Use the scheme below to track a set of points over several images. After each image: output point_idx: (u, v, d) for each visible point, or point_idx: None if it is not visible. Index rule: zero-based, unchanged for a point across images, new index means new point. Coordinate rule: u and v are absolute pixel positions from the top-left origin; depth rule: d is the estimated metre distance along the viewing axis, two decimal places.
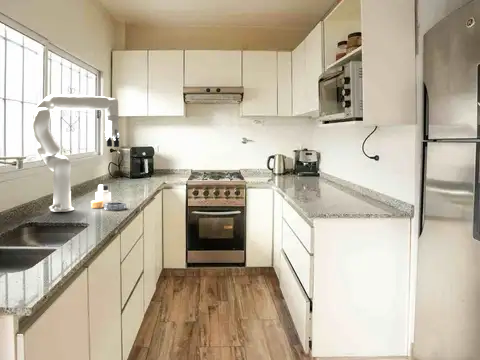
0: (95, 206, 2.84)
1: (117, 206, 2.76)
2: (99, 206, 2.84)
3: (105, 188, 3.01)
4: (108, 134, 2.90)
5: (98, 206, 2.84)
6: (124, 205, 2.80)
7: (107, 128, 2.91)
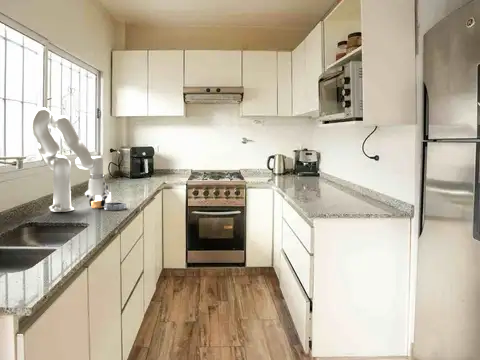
0: (95, 206, 2.84)
1: (117, 206, 2.76)
2: (99, 206, 2.84)
3: None
4: None
5: (98, 206, 2.84)
6: (124, 205, 2.80)
7: None
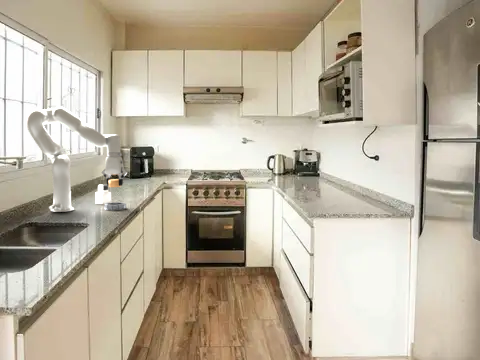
0: (113, 185, 2.78)
1: (117, 206, 2.76)
2: (117, 185, 2.78)
3: (105, 188, 3.01)
4: None
5: (116, 185, 2.78)
6: (124, 205, 2.80)
7: None
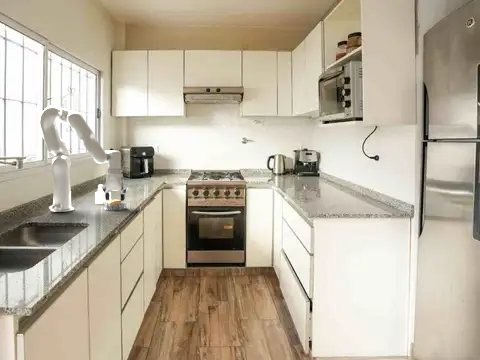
0: None
1: (117, 206, 2.76)
2: None
3: (105, 188, 3.01)
4: None
5: None
6: (124, 205, 2.80)
7: None
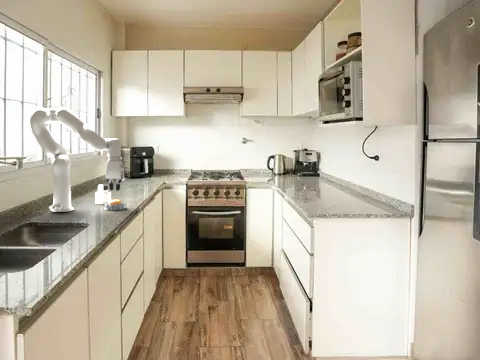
0: None
1: (117, 206, 2.76)
2: None
3: (105, 188, 3.01)
4: None
5: None
6: (124, 205, 2.80)
7: None
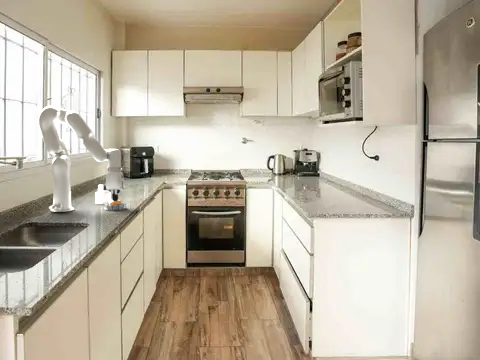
0: None
1: (117, 206, 2.76)
2: None
3: (105, 188, 3.01)
4: None
5: None
6: (124, 205, 2.80)
7: None
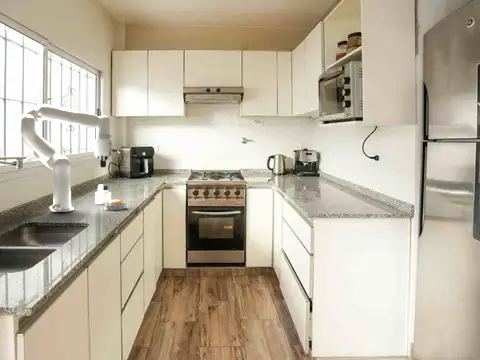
0: None
1: (117, 206, 2.76)
2: None
3: (105, 188, 3.01)
4: None
5: None
6: (124, 205, 2.80)
7: None
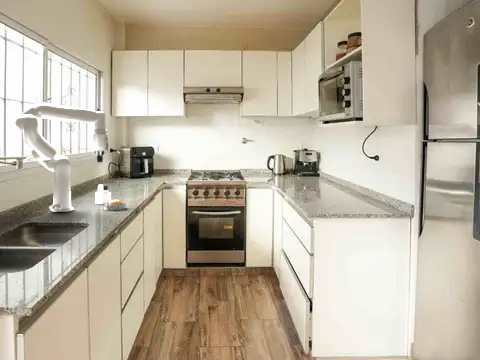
0: None
1: (117, 206, 2.76)
2: None
3: (105, 188, 3.01)
4: None
5: None
6: (124, 205, 2.80)
7: None
